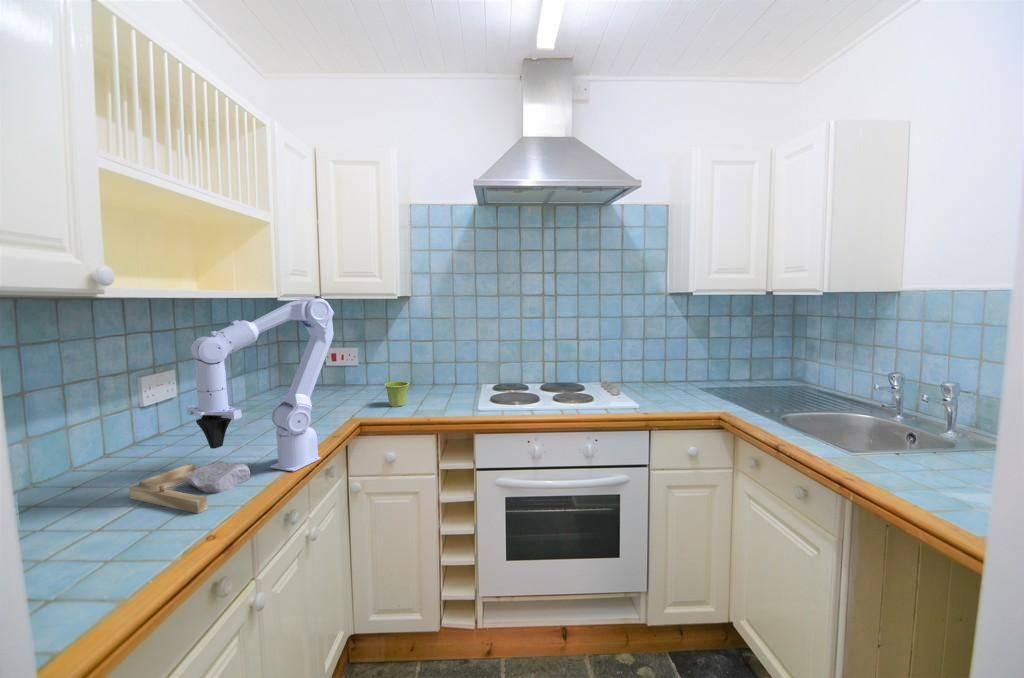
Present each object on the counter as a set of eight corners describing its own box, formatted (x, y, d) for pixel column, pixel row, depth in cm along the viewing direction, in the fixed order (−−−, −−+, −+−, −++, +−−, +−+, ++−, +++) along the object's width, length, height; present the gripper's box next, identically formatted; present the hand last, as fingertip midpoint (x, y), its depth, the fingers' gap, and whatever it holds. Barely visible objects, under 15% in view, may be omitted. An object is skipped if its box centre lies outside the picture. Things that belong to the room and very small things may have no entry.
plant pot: (412, 402, 183) (412, 381, 182) (405, 408, 174) (404, 386, 173) (390, 402, 184) (389, 381, 183) (381, 408, 175) (380, 386, 174)
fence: (189, 475, 111) (188, 461, 111) (253, 487, 104) (252, 472, 104) (130, 498, 99) (128, 482, 98) (198, 513, 92) (196, 496, 91)
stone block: (219, 503, 101) (255, 477, 110) (213, 484, 99) (250, 460, 108) (181, 497, 104) (219, 473, 113) (174, 479, 103) (214, 456, 112)
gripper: (171, 391, 101) (176, 449, 102) (219, 395, 96) (224, 456, 98) (201, 384, 108) (206, 439, 109) (247, 388, 103) (252, 445, 104)
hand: (216, 447), depth 104 cm, fingers closed
